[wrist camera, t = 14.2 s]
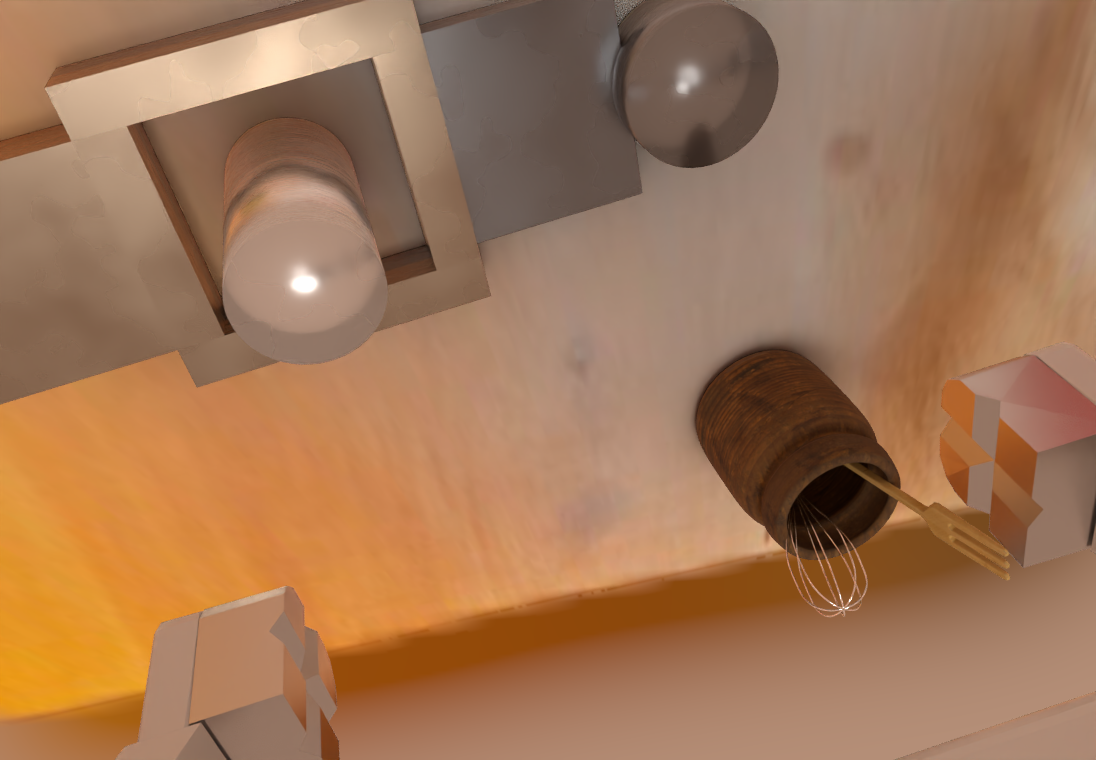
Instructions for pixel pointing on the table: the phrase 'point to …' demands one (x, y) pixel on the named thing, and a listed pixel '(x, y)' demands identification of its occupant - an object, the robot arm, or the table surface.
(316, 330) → the steel pin
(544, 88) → the lower chain link
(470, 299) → the upper chain link
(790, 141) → the table surface
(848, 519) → the utensil holder
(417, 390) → the table surface
